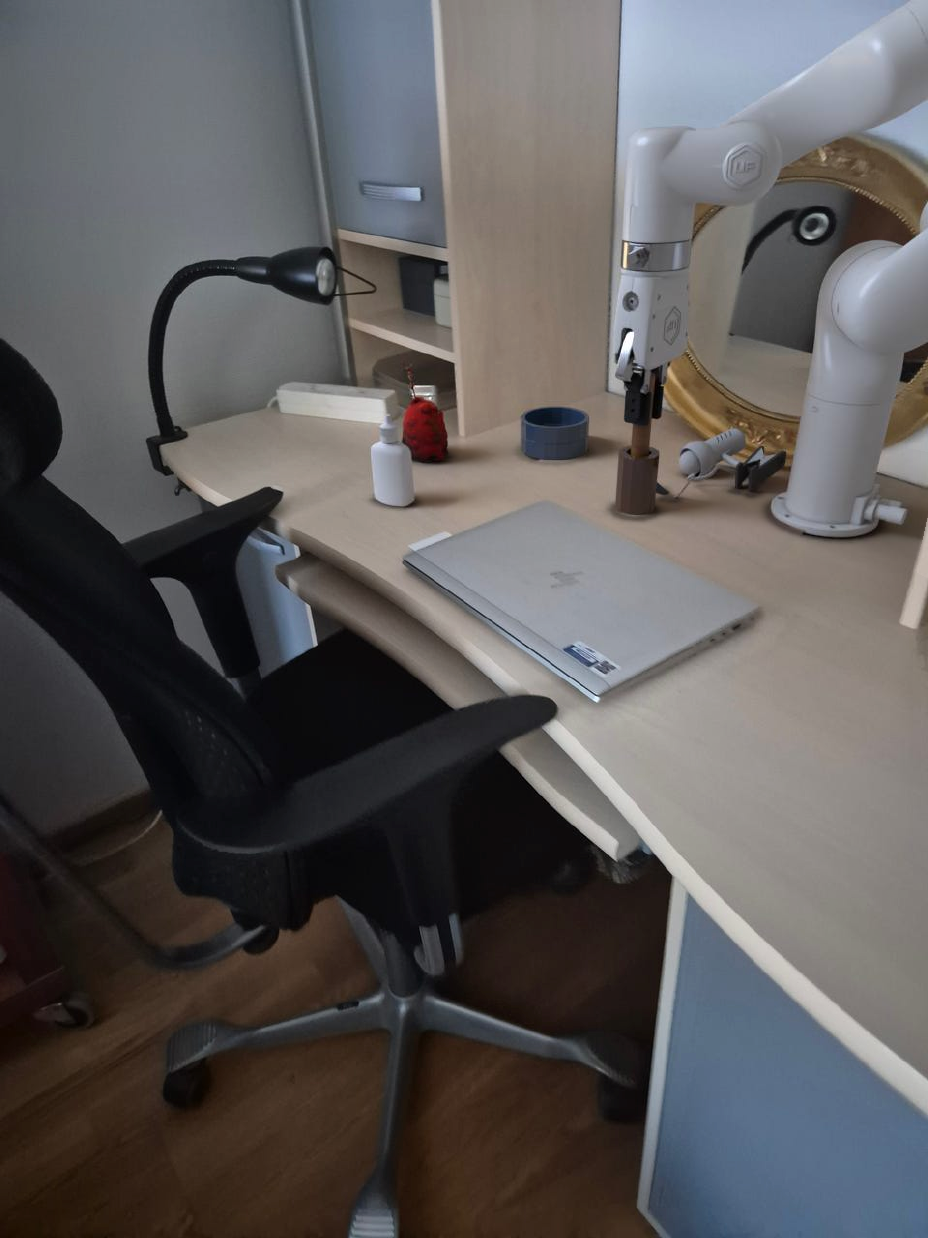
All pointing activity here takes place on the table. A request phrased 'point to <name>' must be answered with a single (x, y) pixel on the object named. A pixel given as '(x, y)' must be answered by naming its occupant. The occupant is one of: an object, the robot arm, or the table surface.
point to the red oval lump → (424, 428)
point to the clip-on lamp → (727, 460)
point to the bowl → (554, 433)
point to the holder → (636, 482)
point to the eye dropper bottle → (392, 467)
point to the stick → (643, 429)
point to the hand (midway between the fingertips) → (642, 418)
